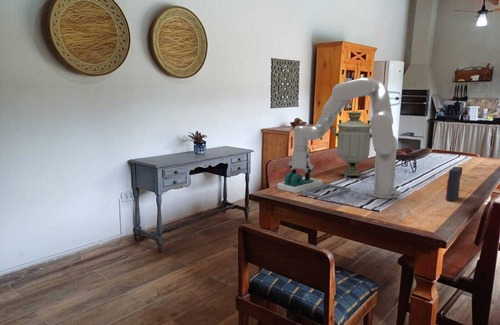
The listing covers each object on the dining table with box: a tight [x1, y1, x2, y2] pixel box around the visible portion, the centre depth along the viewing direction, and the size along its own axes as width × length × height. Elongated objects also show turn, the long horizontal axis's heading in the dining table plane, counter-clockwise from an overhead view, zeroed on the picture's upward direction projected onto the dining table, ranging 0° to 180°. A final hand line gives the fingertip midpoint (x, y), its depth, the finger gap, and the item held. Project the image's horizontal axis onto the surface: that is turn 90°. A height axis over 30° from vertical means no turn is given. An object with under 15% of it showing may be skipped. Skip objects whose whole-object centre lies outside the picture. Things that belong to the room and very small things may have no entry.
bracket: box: [284, 172, 314, 187], centre depth 201 cm, size 18×7×8 cm, turn 129°
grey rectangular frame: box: [301, 183, 352, 200], centre depth 190 cm, size 15×23×2 cm, turn 132°
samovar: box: [329, 111, 372, 179], centre depth 227 cm, size 30×26×40 cm
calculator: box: [445, 166, 463, 202], centre depth 174 cm, size 11×4×15 cm, turn 141°
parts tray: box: [277, 176, 324, 194], centre depth 202 cm, size 13×24×3 cm, turn 132°
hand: (300, 178), depth 202 cm, fingers open, 9 cm apart
